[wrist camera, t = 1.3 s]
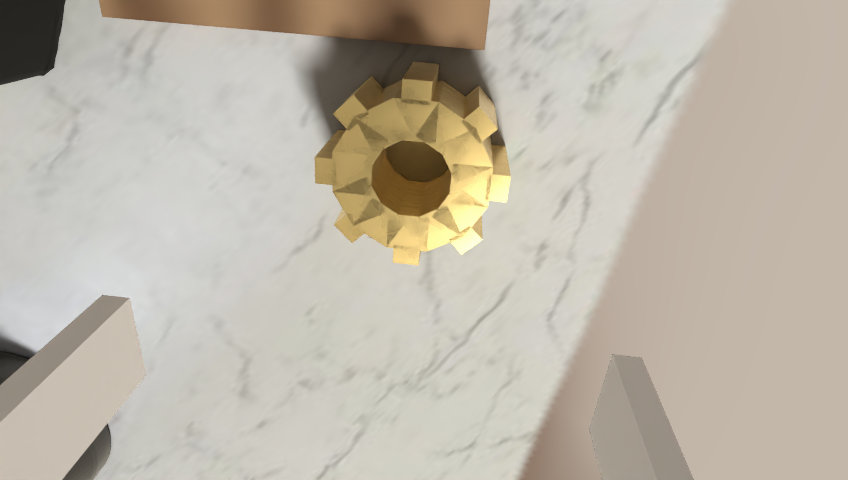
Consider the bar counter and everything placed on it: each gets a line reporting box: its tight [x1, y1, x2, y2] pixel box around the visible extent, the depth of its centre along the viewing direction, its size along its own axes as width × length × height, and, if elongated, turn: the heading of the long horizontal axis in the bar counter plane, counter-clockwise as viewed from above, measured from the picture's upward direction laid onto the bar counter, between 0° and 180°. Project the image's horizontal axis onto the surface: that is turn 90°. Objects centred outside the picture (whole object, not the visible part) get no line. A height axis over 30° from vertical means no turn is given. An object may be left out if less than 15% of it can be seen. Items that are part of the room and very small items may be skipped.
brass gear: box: [315, 62, 511, 265], centre depth 29 cm, size 10×10×5 cm
